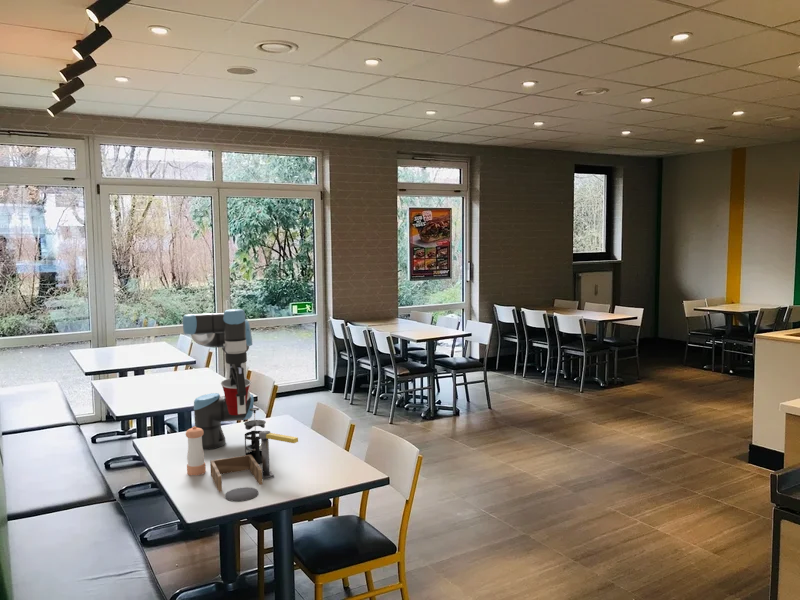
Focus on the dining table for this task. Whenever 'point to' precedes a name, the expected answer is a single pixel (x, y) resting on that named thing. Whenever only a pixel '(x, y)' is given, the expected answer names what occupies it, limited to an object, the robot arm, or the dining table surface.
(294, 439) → the arm
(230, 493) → the pad
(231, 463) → the walnut holder
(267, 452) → the post
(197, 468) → the pepper shaker
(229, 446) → the dining table surface
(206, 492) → the dining table surface
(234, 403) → the plastic cup
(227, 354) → the robot arm
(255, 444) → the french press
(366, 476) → the dining table surface
